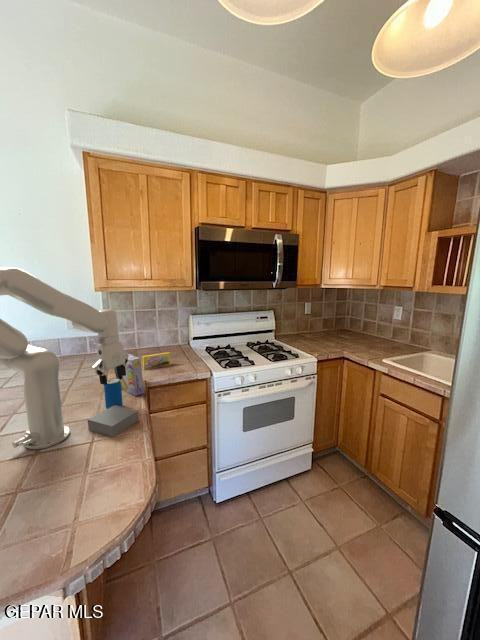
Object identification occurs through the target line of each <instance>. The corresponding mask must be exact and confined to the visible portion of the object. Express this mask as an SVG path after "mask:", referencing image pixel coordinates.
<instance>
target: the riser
mask: <svg viewBox="0 0 480 640" xmlns="http://www.w3.org/2000/svg"><path fill="white" fill-rule="evenodd" d="M137 422H139V410H137V409H134V408H133V409H132V408H128V407H125V406H122V407H121V406H117V405H114V406H112V407H110V408H108V409H106V408H105V410H103V411H101V412H99V413H97V414H95V415H93V416H91V417H90V418H88V419H87V429H88V431H92V432H95V433H98V434H101V435H104V436H108V437H111V438H113V437H116V436H117V435H118V434H120V433H121V432H123V431H125V430H126V429H127V428H129V427H131V426H132V425H134V424H135V423H137Z"/></svg>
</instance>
